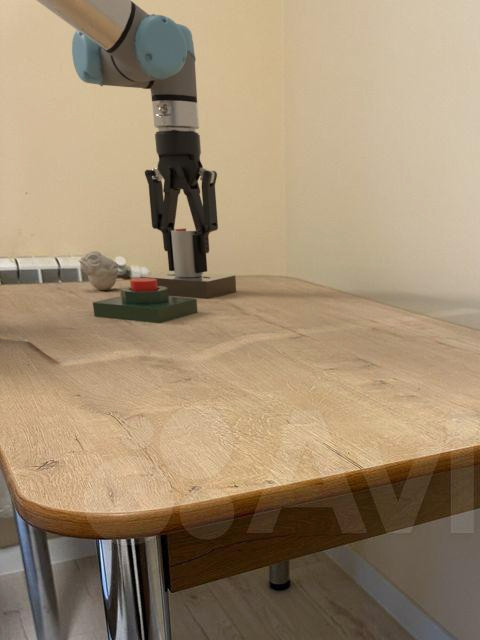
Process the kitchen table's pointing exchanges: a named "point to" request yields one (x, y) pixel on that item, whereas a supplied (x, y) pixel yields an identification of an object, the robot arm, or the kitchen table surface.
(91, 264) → the frog figurine
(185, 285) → the panel
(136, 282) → the button
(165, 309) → the block
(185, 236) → the grey cylinder
